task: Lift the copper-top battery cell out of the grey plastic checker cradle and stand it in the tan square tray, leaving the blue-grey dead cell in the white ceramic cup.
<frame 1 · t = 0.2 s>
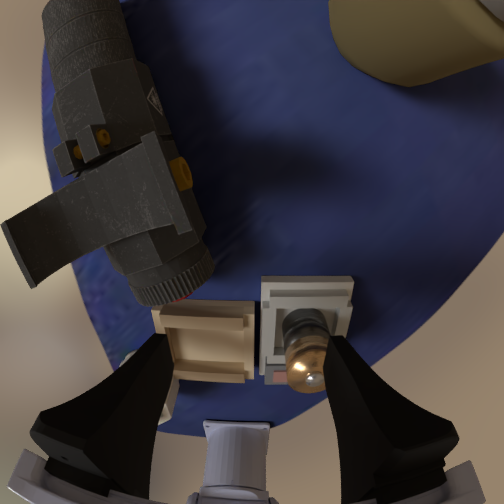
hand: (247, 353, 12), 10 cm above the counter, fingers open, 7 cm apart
tan square tray: (208, 334, 24), on the counter
squeeze bottle: (370, 41, 14), on the counter
laser sight: (135, 133, 18), on the counter
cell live: (304, 325, 22), point 1 cm above the counter, touching cradle
cup: (151, 370, 27), on the counter
cradle: (302, 318, 23), on the counter
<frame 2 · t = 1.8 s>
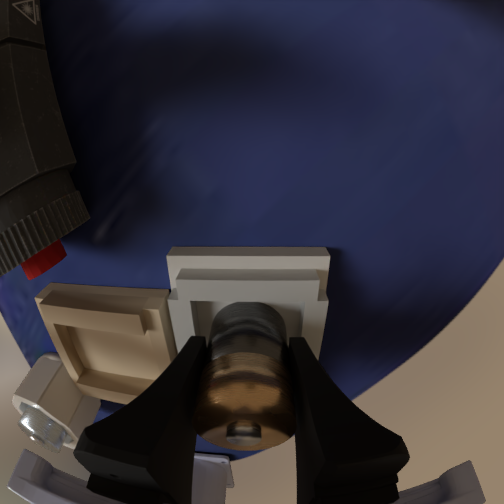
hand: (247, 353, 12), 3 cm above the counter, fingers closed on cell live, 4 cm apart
tan square tray: (117, 338, 15), on the counter
laser sight: (25, 65, 9), on the counter
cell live: (248, 331, 14), point 1 cm above the counter, touching cradle, gripper
cup: (70, 379, 18), on the counter
cradle: (249, 319, 15), on the counter
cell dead: (66, 386, 17), point 1 cm above the counter, touching cup
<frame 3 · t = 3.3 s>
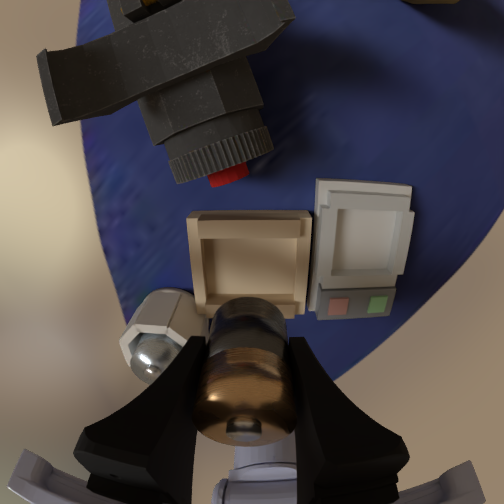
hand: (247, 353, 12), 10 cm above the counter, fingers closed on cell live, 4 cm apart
tan square tray: (250, 259, 21), on the counter
laser sight: (183, 31, 15), on the counter
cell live: (248, 327, 14), point 8 cm above the counter, touching gripper
cup: (174, 317, 24), on the counter
cradle: (358, 233, 20), on the counter
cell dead: (172, 322, 23), point 1 cm above the counter, touching cup
when the fingers open (4 cm above the counter, at t = 4.8 s): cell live drops 1 cm, resting on tan square tray.
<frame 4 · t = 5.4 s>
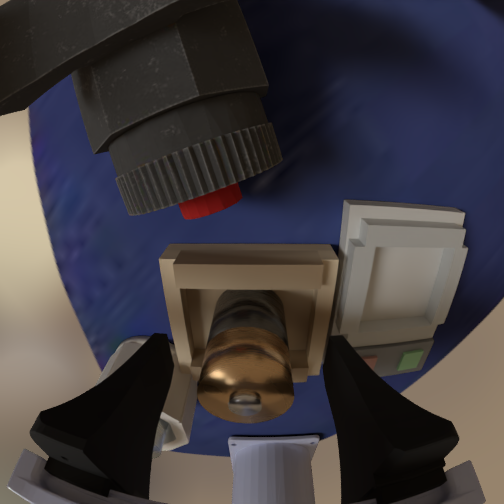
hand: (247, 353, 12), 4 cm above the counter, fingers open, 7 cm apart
tan square tray: (249, 307, 16), on the counter
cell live: (249, 313, 15), point 1 cm above the counter, touching tan square tray
cup: (156, 368, 18), on the counter
cradle: (393, 273, 15), on the counter
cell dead: (153, 376, 17), point 1 cm above the counter, touching cup
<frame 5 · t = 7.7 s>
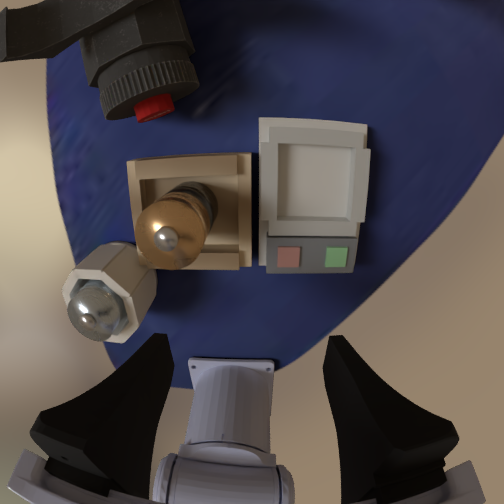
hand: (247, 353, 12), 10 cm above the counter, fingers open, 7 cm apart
tan square tray: (194, 206, 20), on the counter
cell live: (191, 207, 19), point 1 cm above the counter, touching tan square tray
cup: (124, 274, 22), on the counter
cradle: (310, 178, 19), on the counter
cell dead: (120, 279, 21), point 1 cm above the counter, touching cup
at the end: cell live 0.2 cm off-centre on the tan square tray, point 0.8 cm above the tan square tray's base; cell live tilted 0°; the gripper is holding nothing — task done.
